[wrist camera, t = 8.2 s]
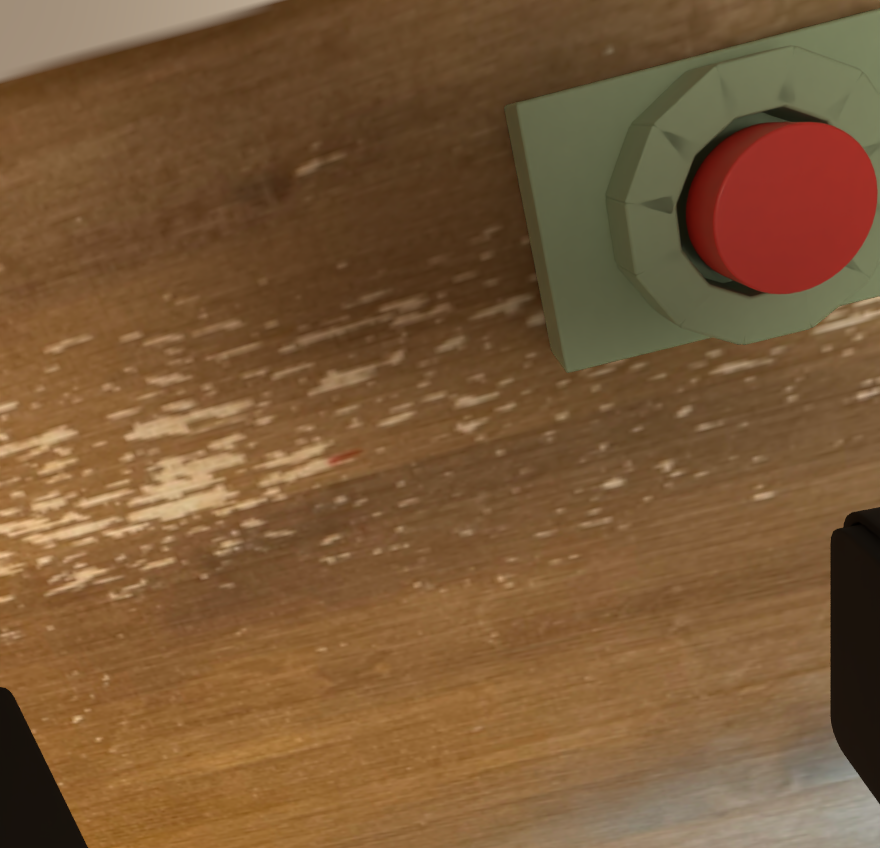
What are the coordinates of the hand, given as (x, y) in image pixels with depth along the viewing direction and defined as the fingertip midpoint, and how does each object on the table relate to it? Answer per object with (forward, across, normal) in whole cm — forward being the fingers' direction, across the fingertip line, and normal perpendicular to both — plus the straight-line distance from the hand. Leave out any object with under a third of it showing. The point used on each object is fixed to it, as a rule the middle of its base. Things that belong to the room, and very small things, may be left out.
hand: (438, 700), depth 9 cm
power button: (+11, -9, -3) cm, 15 cm away
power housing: (+15, -9, -3) cm, 18 cm away
